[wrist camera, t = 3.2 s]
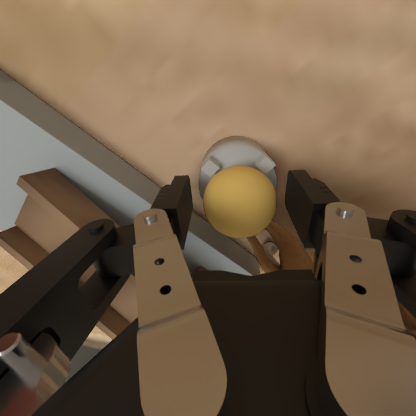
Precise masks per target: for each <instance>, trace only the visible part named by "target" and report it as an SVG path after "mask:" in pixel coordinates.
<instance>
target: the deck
mask: <svg viewBox="0 0 416 416" xmlns="http://www.w3.org/2000/svg"><path fill="white" fill-rule="evenodd" d="M51 168H55V169H56V170H58V171H59V172H60V173H61V174H62V175H63V176H64V177H65V178H67V179H68V180H69V181H70V182H71V183H72V184H73V185H74V186H75V187H77V188H78V189H79V190H80V191H81V192H82V193H83V194H84V195H85V196H87V197H88V198H89V199H90V200H91V201H92V202H93V203H94V204H95V205H97V206H98V207H99V208H100V209H101V210H102V211H103V212H104V213H106V214H107V215H108V216H109V217H110V218H111V219H112V220H113V221H114V222H116V223H117V224H118V225H119V226H120V227H121V226H126V225H130V224H133V223H134V218H135V217H136V215H138V214H139V213H141V212H142V211H145V210H148V209H150V207H151V206H152V204H153V202H154V200H155V198H156V196H157V195H158V192H159V191H160V189H161V188H160V187H159V186H158V185H156V184H155V183H154V182H152V181H151V180H149V179H148V178H147V177H145V176H144V175H143V174H141V173H140V172H139V171H137V170H136V169H135V168H133V167H132V166H130V165H129V164H128V163H126V162H125V161H124V160H122V159H121V158H120V157H118V156H117V155H115V154H114V153H113V152H111V151H110V150H109V149H107V148H106V147H105V146H103V145H102V144H101V143H99V142H98V141H96V140H95V139H94V138H92V137H91V136H90V135H88V134H87V133H86V132H84V131H83V130H81V129H80V128H79V127H77V126H76V125H75V124H73V123H72V122H71V121H69V120H68V119H66V118H65V117H64V116H62V115H61V114H60V113H58V112H57V111H56V110H54V109H53V108H52V107H50V106H49V105H47V104H46V103H45V102H43V101H42V100H41V99H39V98H38V97H37V96H35V95H34V94H32V93H31V92H30V91H28V90H27V89H26V88H24V87H23V86H22V85H20V84H19V83H18V82H16V81H15V80H13V79H12V78H11V77H9V76H8V75H7V74H5V73H4V72H3V71H1V70H0V229H1V230H3V231H4V230H7V229H9V228H11V227H14V226H16V225H15V224H14V223H15V221H16V219H17V217H18V214H19V212H20V210H21V208H22V206H23V203H24V201H25V199H26V197H27V195H28V194H27V193H26V192H25V191H24V190H22V189H21V188H20V187H19V186H18V185H17V184H16V183H17V181H18V178H19V176H21V175H25V174H30V173H34V172H38V171H42V170H47V169H51ZM182 253H183V256H184V259H185V262H186V264H187V267H188V270H189V273H190V274H191V273H192V272H193V271H195V270H196V269H197V268H198V267H200V266H203V267H204V268H206V269H207V270H223V271H228V272H233V273H238V274H244V275H249V276H255V275H260V271H259V266H258V260H257V258H256V257H254V256H253V255H252V254H250V253H249V252H247V251H246V250H245V249H243V248H242V247H241V246H239V245H238V244H237V243H235V242H234V241H232V240H231V239H230V238H228V237H227V236H226V235H224V234H222V233H220V232H219V231H217V230H216V229H215V228H214V227H213V226H212V225H211V224H209V223H208V222H207V221H205V220H204V219H203V218H201V217H200V216H198V215H197V214H196V213H194V212H193V211H192V215H191V220H190V224H189V229H188V233H187V238H186V242H185V247H184V250H182Z"/></svg>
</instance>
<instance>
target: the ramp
mask: <svg viewBox="0 0 416 416" xmlns="http://www.w3.org/2000/svg"><path fill="white" fill-rule="evenodd" d="M16 184H17V185H18V186H19V187H20V188H21V189H22V190H24V191H25V192H26V193H27V194H28V195H27V197H26V199H25V201H24V203H23V206H22V208H21V210H20V212H19V214H18V217H17V219H16V221H15V223H14V224H15V225H16V226H14V227H11V228H9V229H7V230H4V231H2V232H0V246H1V247H2V248H4V249H5V250H6V251H7V252H8V253H9V254H11V255H12V256H13V257H14V258H15V259H17V260H18V261H19V262H20V263H21V264H23V265H24V266H25V267H26V268H27V269H29V270H31V269H32V268H33V267H34V266H35V265H37V264H38V263H39V262H40V261H42V260H43V259H44V258H45V257H46V256H48V255H49V254H50V253H51V252H52V251H54V250H55V249H56V248H57V247H59V246H60V245H61V244H62V243H63V242H65V241H66V240H67V239H68V238H70V237H71V236H72V235H73V234H74V233H76V232H77V231H78V230H79V229H81V228H82V227H83V226H84V225H86V224H88V223H90V222H92V221H95V220H99V219H110V220H112V219H111V218H110V217H109V216H108V215H107V214H106V213H104V212H103V211H102V210H101V209H100V208H99V207H98V206H97V205H95V204H94V203H93V202H92V201H91V200H90V199H89V198H88V197H87V196H85V195H84V194H83V193H82V192H81V191H80V190H79V189H78V188H77V187H75V186H74V185H73V184H72V183H71V182H70V181H69V180H68V179H67V178H65V177H64V176H63V175H62V174H61V173H60V172H59V171H58V170H56V169H55V168H51V169H47V170H42V171H38V172H34V173H30V174H25V175H21V176H19V178H18V181H17V183H16ZM112 221H113V220H112ZM113 222H114V221H113ZM114 224H115V227H116V228H117V227H120V226H119V225H118V224H117V223H116V222H114ZM202 270H207V269H206V268H204V267H203V266H200V267H198V268H197V269H196V270H195V271H202ZM95 271H96V270H95V267H94V265H93V264H92V265H91V266H90V267H89V268H88V269H87V270H86V271H85V272H84V273H83V275H82V276H81V277H80V279H79V283H78V288H79V289H80V288H81V287H82V286H83V285H84V283H85V282H86V281H87V280H88V279H89V278H90V277H91V276H92V274H93V273H94V272H95ZM193 274H194V271H193V272H192V273H191V274H190V275H191V278H192V280H193ZM137 317H138V308H137V294H136V281H135V272H134V273H131V275H130V277H129V278H128V280H127V281H126V283H125V284H124V286H123V287H122V288H121V290H120V291H119V293H118V294H117V296H116V297H115V298H114V300H113V301H112V303H111V304H110V305H109V307H108V308H107V310H106V311H105V313H104V314H103V315H102V317H101V318H100V320H99V321H98V323H97V324H96V326H97V327H98V328H99V329H101V330H102V331H103V332H104V333H105V334H107V335H108V336H109V337H110V338H111V339H114V338H115V337H116V336H117V335H119V334H120V333H121V332H122V331H123V330H124V329H125V328H126V327H127V326H128V325H130V324H131V323H132V322H133V321H134V320H135V319H136V318H137Z"/></svg>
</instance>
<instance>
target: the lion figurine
mask: <svg viewBox="0 0 416 416" xmlns="http://www.w3.org/2000/svg"><path fill="white" fill-rule="evenodd" d="M265 230H267V231H268V232H269V234H270V235H271V236H272V238H273V239H274V241H275V242H276V244H277V246H278V248H279V251H280V252H279V257H280V264H279V263H278V262H277V261H276V260H275V259H274V257H273V255H274V254H275V253H276V252H277V250H278V249H277V246H276V245H275V244H274V243H271V242H268V243H265V244H263V245H262V246H261V244H260V243H259V241H258V240H257V238H256V237H255V235H254V236H251V237H247V239H248V241H249V242H250V244H251V246H252V248H253V250H254V252H255V254H256V256H257V259H258V261H259V263H260V265H261V267H262V269H263V270H264V272H265V273H269V272H273V271H278V270H299V269H312V270H313V261H312V259H311V258H310V256H309V255H308V253H307V252H306V251H305V249H304V248H303V247H302V245H301V244H300V243H299V242H298V241H297V240H296V238H295V237H294V236H293V235H292V234H290V233H289V232H288V231H287V230H286V229H284V228H283V227H281V226H280V225H279V224H277V223H276V222H275V221H274V220H271V222H270V223H269V225H268V226H267V227H266V228H265ZM397 302H398V306H399V309H400V313H401V317H402V320H403V324H404V327H405V329H406V330H407V331H408V332H410V333H411V334H413V335H414V336H416V318H415V317H414V316H413V315H412V314H411V313H410V312H409V311H408V310H407V309H406V308H405V307H404V306H403V305H402V304H401V303H400V302H399V301H398V300H397Z"/></svg>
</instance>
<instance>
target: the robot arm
mask: <svg viewBox="0 0 416 416" xmlns="http://www.w3.org/2000/svg"><path fill="white" fill-rule="evenodd" d="M285 206H286V209H287V211H288V213H289V215H290V217H291V220H292V222H293V224H294V226H295V228H296V230H297V232H298V235H299V237H300V239H301V241H302V243H303V245H304V247H305V248H315V255H314V261H313V270H312V269H299V270H278V271H273V272H269V273H264V274H260V275H255V276H249V275H244V274H238V273H233V272H228V271H223V270H202V271H194V274H193V280H192V278H191V275H190V273H189V270H188V267H187V264H186V262H185V259H184V256H183V253H182V250H184V247H185V242H186V238H187V233H188V229H189V224H190V220H191V215H192V210H193V203H192V194H191V186H190V179H189V176H188V175H185V176H175V177H174V179H173V181H172V183H171V185H165V186H164V187H163V188H161V189H160V191H159V192H158V195H157V196H156V198H155V200H154V202H153V204H152V206H151V207H150V209H148V210H145V211H142V212H141V213H139V214H138V215H136V217H135V218H134V223H133V224H130V225H126V226H121V227H117V228H116V227H115V224H114V222H113V221H112V220H110V219H99V220H95V221H92V222H90V223H88V224H86V225H84V226H83V227H82V228H81V229H79V230H78V231H77V232H76V233H74V234H73V235H72V236H71V237H70V238H68V239H67V240H66V241H65V242H63V243H62V244H61V245H60V246H59V247H57V248H56V249H55V250H54V251H52V252H51V253H50V254H49V255H48V256H46V257H45V258H44V259H43V260H42V261H40V262H39V263H38V264H37V265H35V266H34V267H33V268H32V269H31V270H29V271H28V272H27V273H26V274H24V275H23V276H22V277H21V278H20V279H18V280H17V281H16V282H15V283H13V284H12V285H11V286H10V287H9V288H7V289H6V290H5V291H4V292H3V293H1V294H0V416H416V336H414V335H413V334H411V333H410V332H408V331H407V330H406V329H405V327H404V324H403V320H402V317H401V313H400V309H399V306H398V302H397V300H398V301H399V302H400V303H401V304H402V305H403V306H404V307H405V308H406V309H407V310H408V311H409V312H410V313H411V314H412V315H413V316H414V317H415V318H416V211H412V210H396V211H394V212H392V214H391V216H390V218H389V220H382V219H375V218H368V217H366V213H365V211H364V210H363V209H361V208H360V207H358V206H356V205H353V204H350V203H345V202H341V201H340V200H339V199H338V198H337V197H336V196H335V195H334V194H333V193H332V192H331V191H330V189H329V188H328V187H327V186H326V185H325V184H324V183H323V182H321V181H319V180H317V179H315V178H311V177H310V176H309V174H308V173H307V172H306V171H305V170H291V171H289V172H288V177H287V185H286V194H285ZM92 264H93V265H94V267H95V270H96V271H95V272H94V273H93V274H92V276H91V277H90V278H89V279H88V280H87V281H86V282H85V283H84V285H83V286H82V287H81V288H80V289H79V288H78V283H79V279H80V277H81V276H82V275H83V273H84V272H85V271H86V270H87V269H88V268H89V267H90V266H91V265H92ZM134 272H135V281H136V294H137V308H138V317H137V318H136V319H135V320H134V321H133V322H132V323H131V324H130V325H128V326H127V327H126V328H125V329H124V330H123V331H122V332H121V333H120V334H119V335H117V336H116V337H115V338H114V339H113V340H112V341H111V342H110V343H109V344H108V345H107V346H105V347H104V348H103V349H102V350H101V351H100V352H99V353H98V354H97V355H96V356H94V357H93V358H92V359H91V360H90V361H89V362H88V363H87V364H86V365H85V366H84V367H82V368H81V369H80V370H79V371H78V372H77V373H76V374H75V375H74V376H72V377H71V378H70V379H69V380H68V381H67V382H65V381H66V379H67V377H68V374H69V371H70V361H71V359H72V358H73V356H74V355H75V354H76V352H77V351H78V349H79V348H80V347H81V345H82V344H83V342H84V341H85V340H86V338H87V337H88V335H89V334H90V332H91V331H92V330H93V328H94V327H95V325H96V324H97V323H98V321H99V320H100V318H101V317H102V315H103V314H104V313H105V311H106V310H107V308H108V307H109V305H110V304H111V303H112V301H113V300H114V298H115V297H116V296H117V294H118V293H119V291H120V290H121V288H122V287H123V286H124V284H125V283H126V281H127V280H128V278H129V277H130V275H131V273H134Z"/></svg>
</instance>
